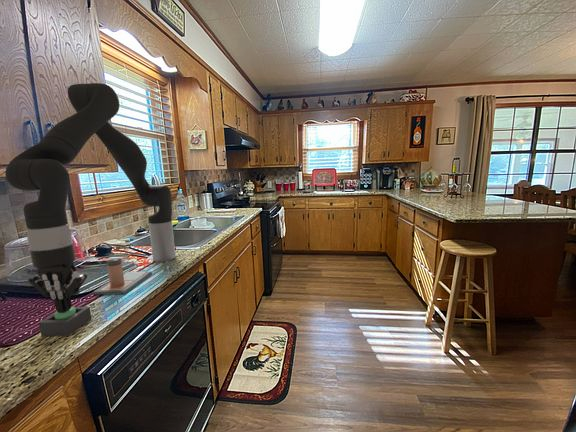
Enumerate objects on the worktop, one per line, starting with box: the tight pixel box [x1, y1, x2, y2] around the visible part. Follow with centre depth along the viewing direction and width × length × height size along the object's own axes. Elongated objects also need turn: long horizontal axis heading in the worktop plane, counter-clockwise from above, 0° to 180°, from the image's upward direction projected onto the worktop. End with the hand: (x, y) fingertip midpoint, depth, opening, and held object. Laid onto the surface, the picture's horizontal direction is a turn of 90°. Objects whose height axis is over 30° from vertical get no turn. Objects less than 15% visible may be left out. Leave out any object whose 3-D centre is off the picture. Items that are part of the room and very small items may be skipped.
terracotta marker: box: [106, 257, 125, 288], centre depth 83 cm, size 4×4×9 cm
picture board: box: [93, 270, 153, 295], centre depth 87 cm, size 16×10×1 cm, turn 0°
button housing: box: [38, 306, 92, 337], centre depth 63 cm, size 7×7×4 cm
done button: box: [53, 306, 76, 320], centre depth 62 cm, size 4×4×2 cm
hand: (64, 311), depth 62 cm, fingers closed
